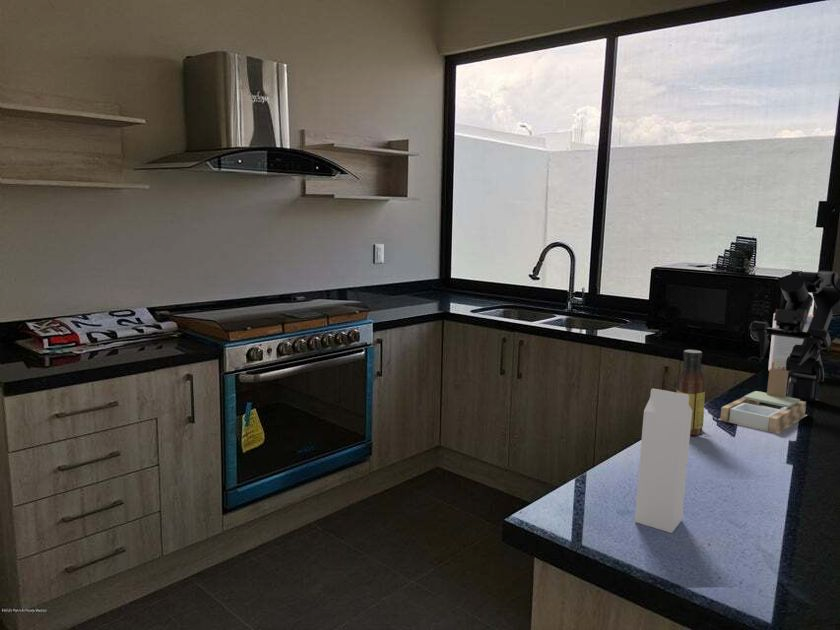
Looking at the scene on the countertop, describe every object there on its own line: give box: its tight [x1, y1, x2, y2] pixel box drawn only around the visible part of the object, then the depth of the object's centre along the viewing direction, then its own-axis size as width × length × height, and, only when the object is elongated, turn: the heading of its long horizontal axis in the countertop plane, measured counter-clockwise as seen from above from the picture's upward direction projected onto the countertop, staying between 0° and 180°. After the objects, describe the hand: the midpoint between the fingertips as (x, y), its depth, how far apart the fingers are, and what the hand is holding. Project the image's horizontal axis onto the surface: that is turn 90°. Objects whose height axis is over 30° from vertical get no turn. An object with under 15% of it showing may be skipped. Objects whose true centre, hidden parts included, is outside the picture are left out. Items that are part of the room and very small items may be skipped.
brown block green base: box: [743, 368, 800, 408], centre depth 166 cm, size 9×11×8 cm
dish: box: [729, 403, 782, 430], centre depth 159 cm, size 9×9×3 cm
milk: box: [634, 388, 692, 534], centre depth 103 cm, size 6×6×22 cm
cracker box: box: [767, 312, 814, 371], centre depth 219 cm, size 14×6×21 cm, turn 71°
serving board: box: [717, 396, 808, 435], centre depth 164 cm, size 24×14×4 cm, turn 134°
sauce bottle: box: [676, 349, 706, 436], centre depth 150 cm, size 6×6×20 cm
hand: (779, 361), depth 170 cm, fingers open, 9 cm apart
